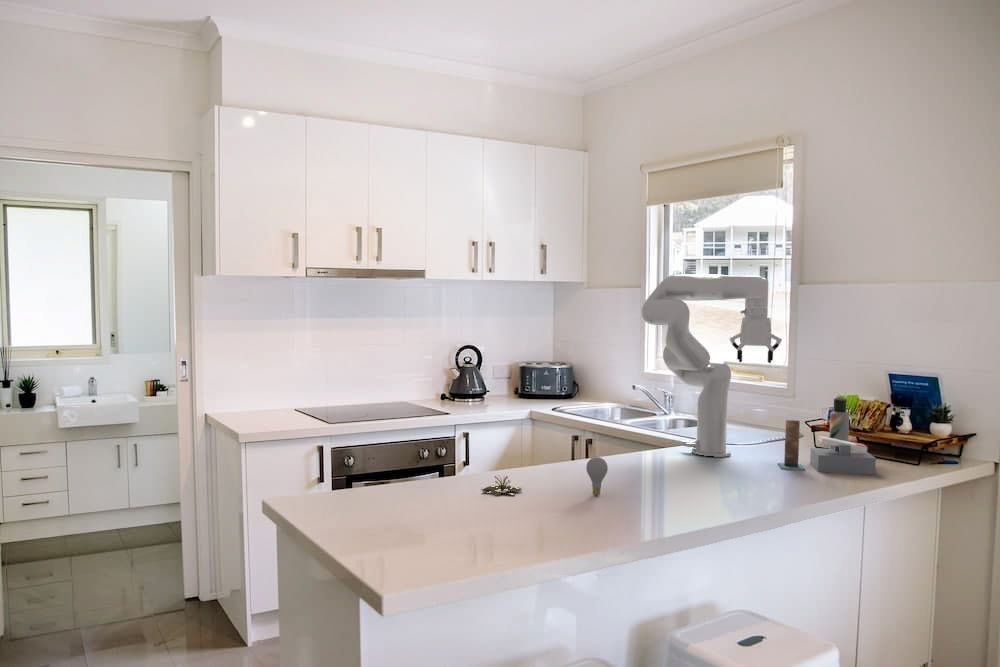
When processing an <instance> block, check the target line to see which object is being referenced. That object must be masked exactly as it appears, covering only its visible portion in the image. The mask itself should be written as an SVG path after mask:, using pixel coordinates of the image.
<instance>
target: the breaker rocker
mask: <svg viewBox="0 0 1000 667" xmlns="http://www.w3.org/2000/svg"><path fill="white" fill-rule="evenodd" d="M818 441H819V443H821V444H823V445H824V444H825V445H834V446H838V447H839V445H851V450H857V451H862V452H868V445H865V444H864V443H859V442H851V441H849V440H848V441H843V440H838V439H833V438H830V436H823V435H818Z"/></svg>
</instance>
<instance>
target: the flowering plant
mask: <svg viewBox="0 0 1000 667" xmlns="http://www.w3.org/2000/svg"><path fill="white" fill-rule="evenodd" d="M499 477H500V475H498V477H497V476H496V475H494V478H495V479H496V480H498V481H496V480H494V481H495V484H496V485H494V486H495V487H491V486H492V485H489V486H486V487H485V488H481V489H480V490H482V491H483V490H484V491H483V492H481V493H480V494H482V495H483V494H488V493H487V492H489V491H493V494H494V495H495V496H496V495H498V496H499V495H501V493H502V494H504V492H505V490H504V489H508V490H510V491H511V492H514V493H513V494H514V496H515V494H516V492H517V493H519V492H518V491H521V489H516V488H514V487H515V486H511V484H510V483H511V480H510V479H508V478H509V476H508V475H506V476H503V478H499ZM507 479H508V480H507ZM506 480H507V482H506ZM497 484H498V485H497ZM508 484H510V485H508ZM506 486H507V487H506ZM496 487H498V488H496ZM511 487H513V488H512V489H510V488H511ZM498 489H501V490H500V491H501V492H500V491H495V490H498ZM502 491H503V492H502ZM510 491H508V492H507V493H509V492H510ZM499 492H500V493H499Z"/></svg>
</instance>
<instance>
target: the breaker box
mask: <svg viewBox="0 0 1000 667" xmlns="http://www.w3.org/2000/svg"><path fill="white" fill-rule="evenodd" d="M809 455H810V456H809V457H810V458H809V462H810V463H809V464H810V465H811V466H812V467H813V468H814V469H815V470H816V471H817V472H818V473H835V474H855V475H872V476H876V464H877V463H876V462H877V461H876V460H877V459H876V457H875V456H873V455H872V454H871V453H869V452H868V451H867V452H862V451H857V450H852V449H851V445H839V447H838V446H834V449H829V448H820V447H810V454H809Z"/></svg>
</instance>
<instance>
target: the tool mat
mask: <svg viewBox="0 0 1000 667" xmlns="http://www.w3.org/2000/svg"><path fill="white" fill-rule="evenodd" d="M777 466H778V467H779V469H781V470H786V471H787V470H790V471H791V470H792V471H806V468H805V466H804V465H803V464H801V463H798V467H789V466H785V465H784V462H777Z"/></svg>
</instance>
